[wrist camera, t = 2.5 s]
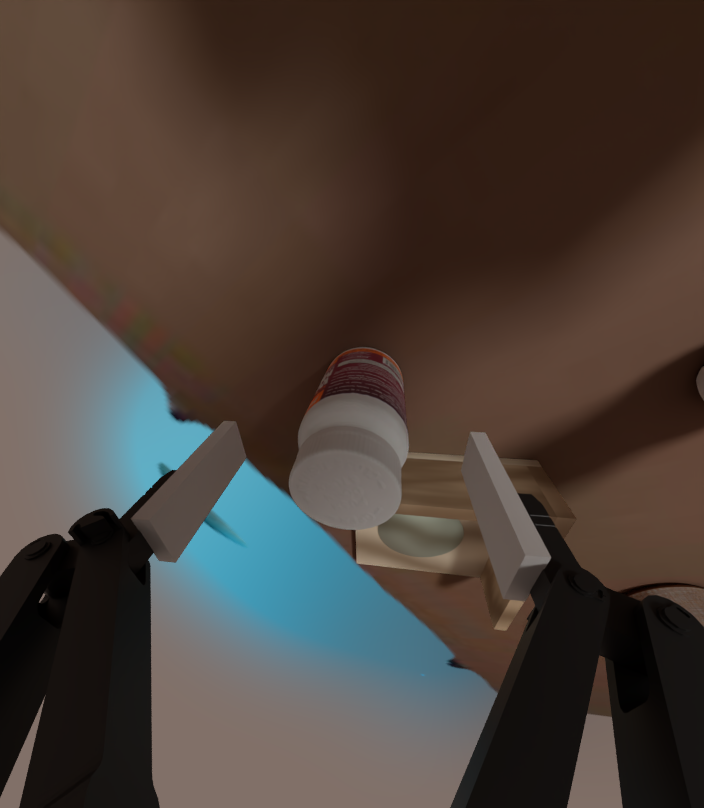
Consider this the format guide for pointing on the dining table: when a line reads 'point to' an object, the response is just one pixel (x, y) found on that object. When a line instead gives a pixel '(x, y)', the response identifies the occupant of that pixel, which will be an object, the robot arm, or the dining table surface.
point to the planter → (676, 596)
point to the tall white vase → (700, 382)
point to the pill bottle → (353, 443)
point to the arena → (452, 524)
